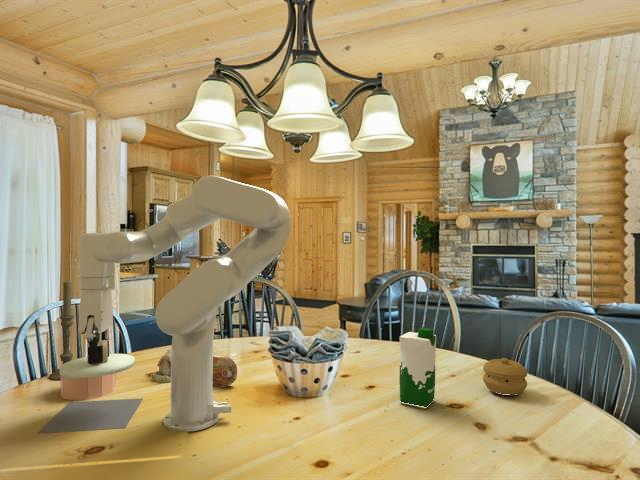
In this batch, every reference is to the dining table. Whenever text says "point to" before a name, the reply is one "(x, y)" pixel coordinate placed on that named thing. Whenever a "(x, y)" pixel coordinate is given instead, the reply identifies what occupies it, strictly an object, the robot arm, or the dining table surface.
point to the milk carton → (417, 367)
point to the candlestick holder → (65, 328)
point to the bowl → (87, 387)
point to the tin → (223, 371)
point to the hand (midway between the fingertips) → (98, 359)
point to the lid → (97, 365)
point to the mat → (92, 416)
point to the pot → (505, 376)
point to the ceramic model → (163, 369)
